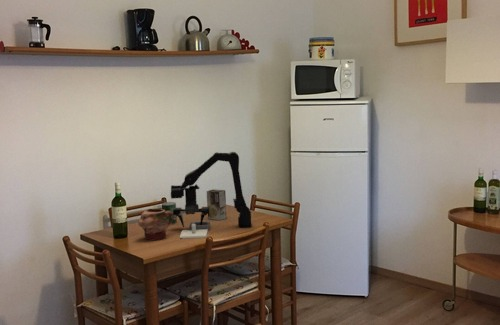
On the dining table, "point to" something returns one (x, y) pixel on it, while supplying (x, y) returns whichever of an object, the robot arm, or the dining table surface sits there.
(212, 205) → the coffee box
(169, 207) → the canned tomato
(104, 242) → the dining table surface
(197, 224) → the grey square frame
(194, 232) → the post stand
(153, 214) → the decorative planter
